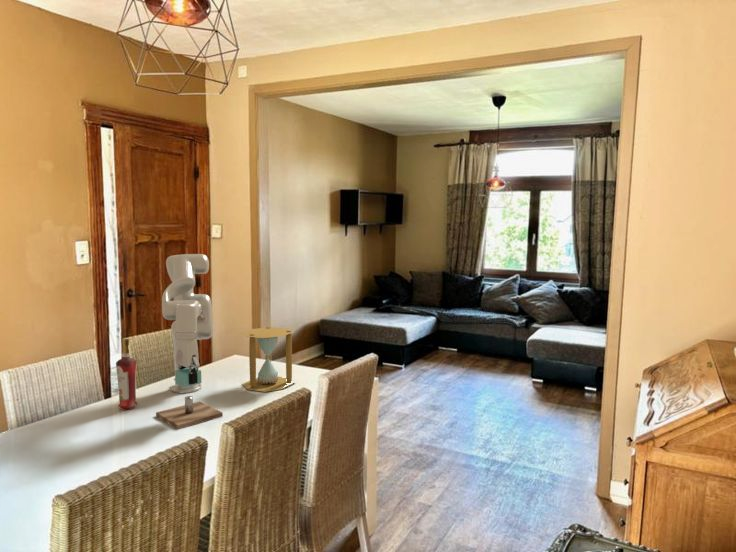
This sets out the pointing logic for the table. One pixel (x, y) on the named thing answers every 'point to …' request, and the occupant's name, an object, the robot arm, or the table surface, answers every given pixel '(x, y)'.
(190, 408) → the steel post
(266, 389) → the hourglass
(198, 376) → the teal collar
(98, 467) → the table surface
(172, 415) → the walnut board
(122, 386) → the liquor
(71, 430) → the table surface
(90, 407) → the table surface
